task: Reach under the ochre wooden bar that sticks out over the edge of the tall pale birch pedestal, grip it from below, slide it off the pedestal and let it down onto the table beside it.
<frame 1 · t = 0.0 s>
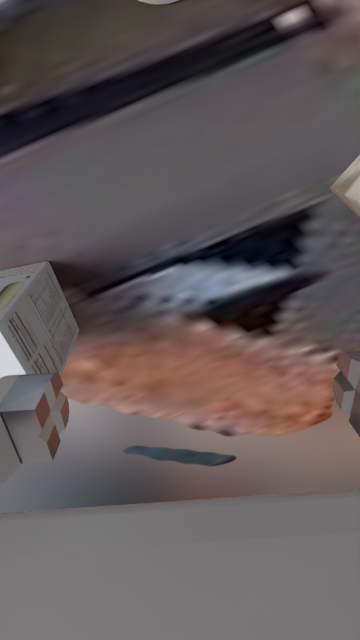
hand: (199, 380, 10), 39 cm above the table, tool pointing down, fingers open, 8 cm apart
supplement box: (27, 303, 52), on the table
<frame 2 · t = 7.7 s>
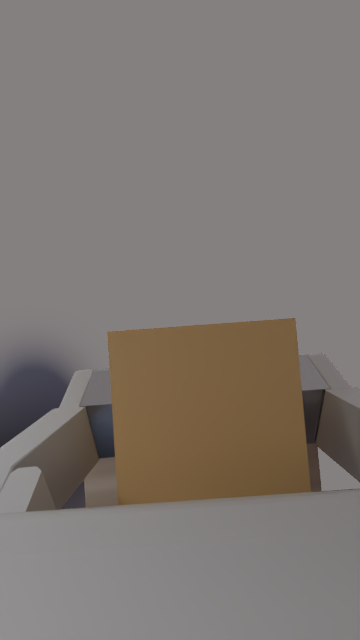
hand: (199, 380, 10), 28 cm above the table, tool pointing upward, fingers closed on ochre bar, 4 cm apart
ochre bar: (195, 404, 18), point 26 cm above the table, touching birch pedestal, gripper
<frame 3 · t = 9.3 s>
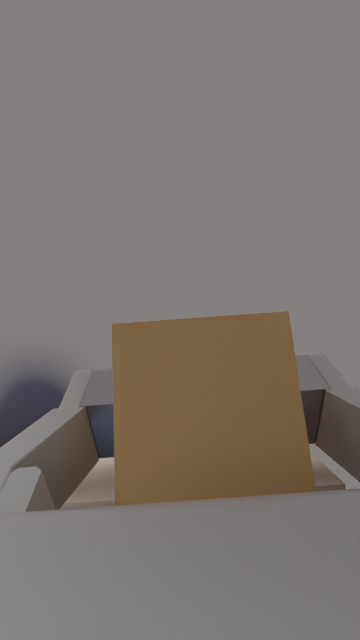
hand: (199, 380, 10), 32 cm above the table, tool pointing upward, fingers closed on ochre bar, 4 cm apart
ochre bar: (198, 441, 17), point 28 cm above the table, tilted 11°, touching gripper
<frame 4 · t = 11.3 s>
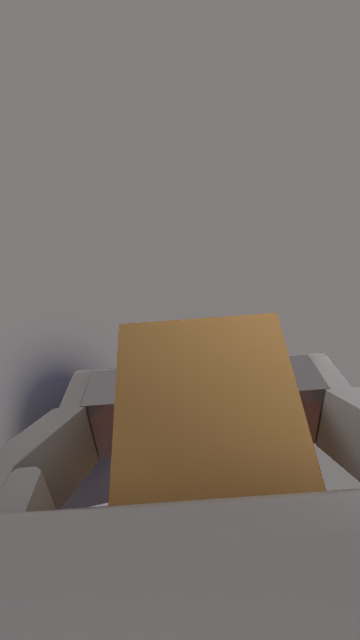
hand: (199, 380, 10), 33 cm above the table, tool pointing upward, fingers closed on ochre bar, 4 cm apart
ochre bar: (205, 522, 15), point 25 cm above the table, tilted 32°, touching gripper
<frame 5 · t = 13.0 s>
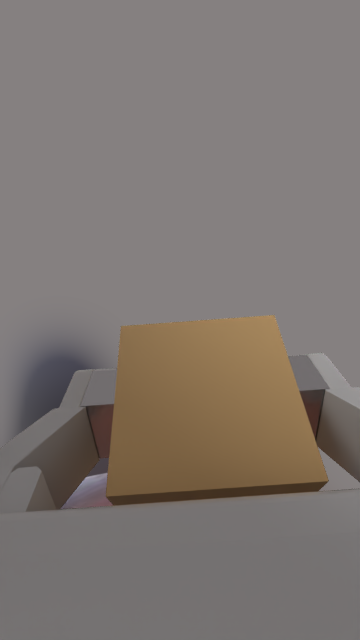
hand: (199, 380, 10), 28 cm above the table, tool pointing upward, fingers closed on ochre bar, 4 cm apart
ochre bar: (208, 555, 14), point 19 cm above the table, tilted 39°, touching gripper
when the fingers open (19 cm above the table, at t = 14.6 s): ochre bar drops 11 cm, on the table.
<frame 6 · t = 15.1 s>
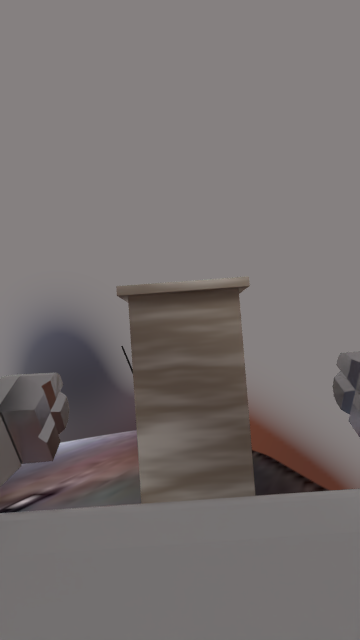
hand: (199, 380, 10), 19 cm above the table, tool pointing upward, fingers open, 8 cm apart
birch pedestal: (197, 496, 41), on the table
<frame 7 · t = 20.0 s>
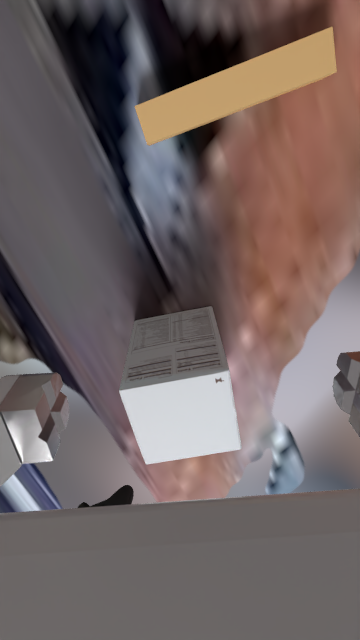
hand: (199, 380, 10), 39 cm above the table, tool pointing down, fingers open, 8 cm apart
gaming controller: (105, 492, 72), on the table
supplement box: (180, 345, 55), on the table
ochre bar: (228, 95, 39), on the table
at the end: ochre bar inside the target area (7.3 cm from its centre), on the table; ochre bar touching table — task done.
